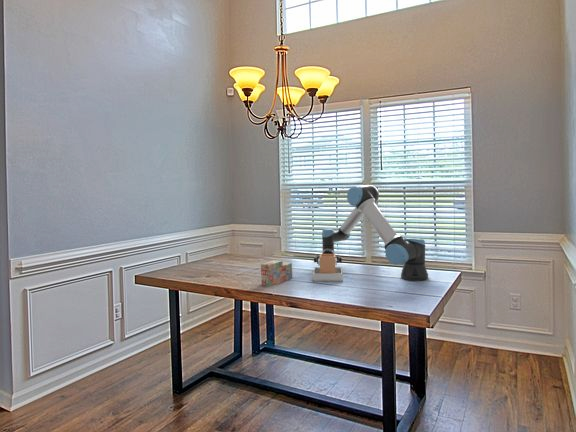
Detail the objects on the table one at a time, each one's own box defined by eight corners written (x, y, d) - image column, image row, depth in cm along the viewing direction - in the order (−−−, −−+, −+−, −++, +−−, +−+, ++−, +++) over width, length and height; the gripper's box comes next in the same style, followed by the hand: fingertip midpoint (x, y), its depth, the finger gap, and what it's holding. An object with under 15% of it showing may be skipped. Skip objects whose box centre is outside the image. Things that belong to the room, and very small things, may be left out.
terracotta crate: (335, 270, 250) (335, 253, 249) (335, 273, 241) (335, 256, 240) (320, 270, 251) (320, 253, 250) (319, 273, 242) (319, 256, 241)
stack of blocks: (284, 276, 252) (283, 257, 251) (292, 278, 248) (291, 258, 247) (261, 285, 235) (260, 263, 234) (270, 286, 231) (269, 264, 230)
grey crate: (342, 274, 253) (342, 267, 253) (342, 281, 237) (342, 273, 236) (314, 274, 255) (314, 267, 255) (312, 281, 238) (312, 273, 238)
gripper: (345, 261, 262) (346, 269, 240) (310, 261, 264) (308, 269, 242) (345, 249, 261) (346, 256, 239) (310, 249, 264) (308, 256, 241)
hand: (327, 262), depth 241 cm, fingers open, 9 cm apart
